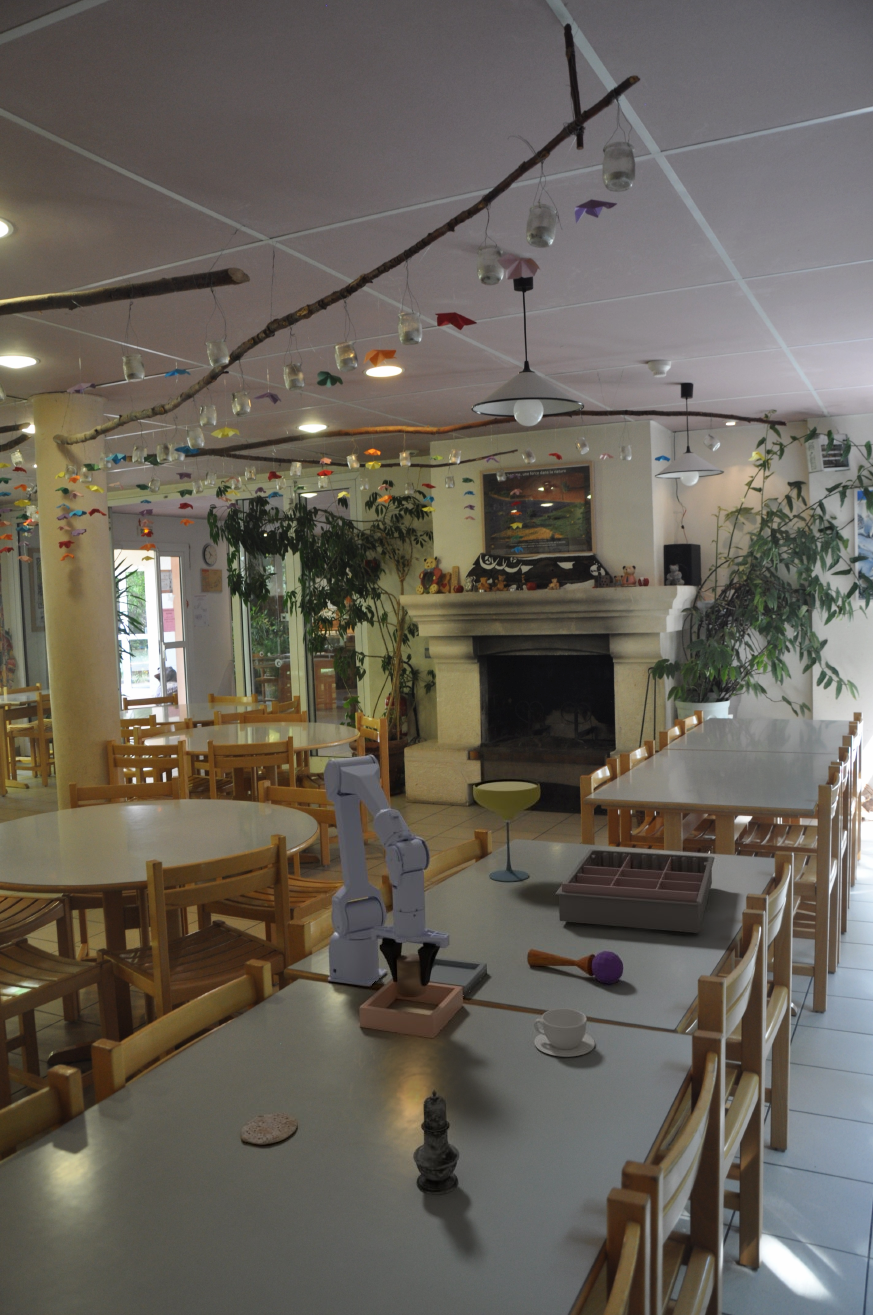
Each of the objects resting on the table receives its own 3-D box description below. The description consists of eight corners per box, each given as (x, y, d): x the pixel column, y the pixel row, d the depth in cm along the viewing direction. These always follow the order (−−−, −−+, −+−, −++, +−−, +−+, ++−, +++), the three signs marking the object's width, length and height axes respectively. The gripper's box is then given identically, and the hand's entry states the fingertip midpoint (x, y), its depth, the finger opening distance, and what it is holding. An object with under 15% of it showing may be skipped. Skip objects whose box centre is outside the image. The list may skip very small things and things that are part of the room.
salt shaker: (412, 1170, 123) (409, 1080, 122) (457, 1166, 123) (454, 1077, 123) (415, 1198, 117) (412, 1104, 116) (462, 1194, 117) (459, 1100, 117)
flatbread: (272, 1112, 139) (272, 1105, 139) (308, 1128, 134) (308, 1121, 134) (228, 1137, 133) (228, 1130, 132) (264, 1155, 128) (263, 1148, 128)
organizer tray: (715, 887, 240) (714, 849, 240) (702, 941, 203) (701, 895, 203) (590, 878, 252) (589, 842, 251) (555, 928, 214) (554, 884, 214)
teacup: (599, 1036, 160) (598, 1008, 160) (589, 1063, 150) (588, 1034, 150) (541, 1029, 163) (540, 1002, 163) (528, 1055, 154) (527, 1027, 154)
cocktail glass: (461, 877, 256) (459, 785, 255) (507, 863, 269) (504, 776, 267) (511, 890, 243) (508, 794, 242) (556, 875, 255) (554, 783, 254)
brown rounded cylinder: (393, 995, 168) (392, 962, 168) (404, 984, 173) (403, 952, 172) (418, 999, 166) (417, 965, 166) (429, 988, 171) (428, 955, 170)
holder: (359, 1027, 166) (359, 1007, 166) (393, 996, 179) (393, 977, 178) (433, 1038, 160) (432, 1018, 160) (462, 1005, 173) (462, 987, 173)
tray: (407, 988, 182) (407, 978, 182) (431, 966, 193) (431, 956, 193) (465, 996, 177) (465, 986, 177) (486, 973, 188) (486, 963, 188)
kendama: (538, 940, 195) (628, 951, 183) (538, 970, 194) (628, 983, 182) (523, 944, 190) (614, 955, 179) (523, 974, 190) (614, 987, 178)
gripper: (362, 910, 168) (365, 985, 168) (437, 918, 162) (440, 996, 163) (379, 898, 174) (382, 971, 175) (453, 906, 169) (455, 980, 169)
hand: (411, 982), depth 169 cm, fingers closed on brown rounded cylinder, 5 cm apart
